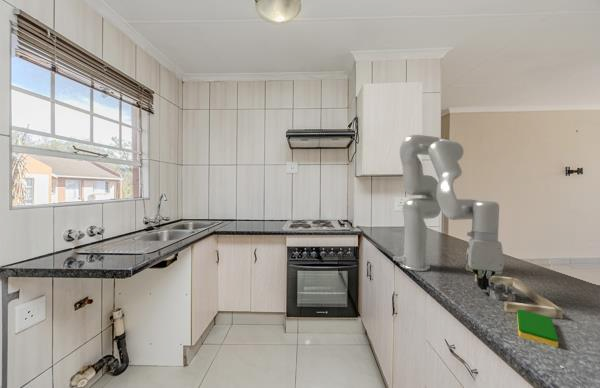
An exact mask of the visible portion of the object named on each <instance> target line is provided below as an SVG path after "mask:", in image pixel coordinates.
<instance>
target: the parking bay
mask: <svg viewBox="0 0 600 388" xmlns="http://www.w3.org/2000/svg"><path fill="white" fill-rule="evenodd" d="M474 281H475V282H476V283H477V275H476V274H475V273H474ZM489 281H492V282H493V281H494V282H498V283H502V284H503V285H508V286H513V287H514V288H515V289H517V290H518V291H519V292H521V293H522V294H523V295H525V296H526V297H527V298H528V299H530V300H531V301H533V302H534V303H536V304H529V303H522V302H521V303H520V302H508V301H506V300H504V307H503V308H504V311H505V312H506V313H515V314H517V310H523V311H527V312H531V313H535V314H540V315H544V316H548V317H551V319H552V318H553V319H560V320H561V319H562V320H563V315H564V310H563V309H562V308H560V307H559V306H557V305H556V304H554V303H553V302H552V301H551V300H548V299H547V298H546V297H544V296H543V295H541V294H540V293H538V292H537V291H536V290H534V289H532V287H529V286H528V285H526V284H525V283H523V282H522V281H521V280H520V279H518V278H516V277H507V276H498V275H493V276H492V277H491V278H490V279H489Z"/></svg>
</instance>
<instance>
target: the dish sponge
mask: <svg viewBox="0 0 600 388" xmlns="http://www.w3.org/2000/svg"><path fill="white" fill-rule="evenodd" d="M516 317H517V318H516V320H517V321H518V322H517V335H519V336H518V337H519V338H521V337H522V339H524V338H525V339H524V340H528V339H529V341H531V340H532V342H535V341H537V342H536V343H538V342H541V343H540V344H542V343H545V344H548V345H547V346H549V345H552V346H556V347H557V348H559V338H558V334H557V332H556V329H555V326H554V325H555V324H554V323H553V320H552V317H548V316H544V315H540V314H535V313H531V312H527V311H523V310H517V313H516ZM545 344H544V345H545ZM552 346H551V347H552ZM556 347H555V348H556Z"/></svg>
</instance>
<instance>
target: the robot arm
mask: <svg viewBox="0 0 600 388" xmlns="http://www.w3.org/2000/svg"><path fill="white" fill-rule="evenodd" d="M418 155H421V156H423V155H425V156H426V155H427V156H429V158H430V161H431V163H432V165H433V168H434V171H435V174H436V176H437V177H438V178H437V179H438V180H437V179H436V177H434V176H432V175H428V174H424V171H423V170H424V169H423V168H424V167H423V164H422V161H421V159H420V158H419V156H418ZM399 156H400V157H399V158H400V161H401V166H402V176H403V177H402V178H403V188H404V192H405V193H406V194H407V195H410V196H421V197H418V198H417V197H416V198H415V197H414V198H409V199H407V200H406V201H404V203H403V204H402V214H403V223H404V224H403V225H404V226H403V227H404V228H403V229H404V230H403V232H404V233H403V234H404V235H403V236H404V237H403V254H402V255H400V256H397V255H394V256H392V259H393V261H396V262H399V266H400V267H402V268H403V269H406V270H409V271H416V272H425V271H430V269H431V268H430V267H431V266H430V264H427V251H428V250H427V244H428V243H427V242H428V228H427V224H426V221H425V220H426V219H435V218H437V217H438V216H439V215H440V213H441V212H442V214H443V215H444V216H445V218H447V219H448V220H452V221H457V220H459V221H460V220H472V221H471V231H467V233H466V235H467V237H470V238H469V239H468V244H467V248H466V254H465V264H466V265H465V270H466V271H469V272H472V273H474V275H475V274H476V275H477V282H476V285H477V286H478V288H479V289H480V290H484V291H487V287H489V279H490V278H491V277H492V276H495V275H500V274H503V270H504V251H503V245H502V242H501V241H499V226H500V225H499V223H500V204H499V203H498V202H496V201H492V200H491V201H488V200H476V199H469V198H466V199H464V198H463V199H462V198H461V199H460V198H459V199H458V198H457V195H456V194H455V190H454V186H453V185H454V183H455V182H454V181H455V180H457V179H459V178H460V177H461V176H462V175H463V170H462V168H461V166H460V164H459V162H458V161H460V160H461V159H462V158H463V156H464V148H463V146H462V145H461V143H459V142H457V141H453V140H451V139H445V138H442V137H437V136H434V135H433V136H432V135H425V134H412V135H409V136H407V137H404V139H403V140H402V142H401V145H400V147H399ZM483 271H484V272H483Z"/></svg>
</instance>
